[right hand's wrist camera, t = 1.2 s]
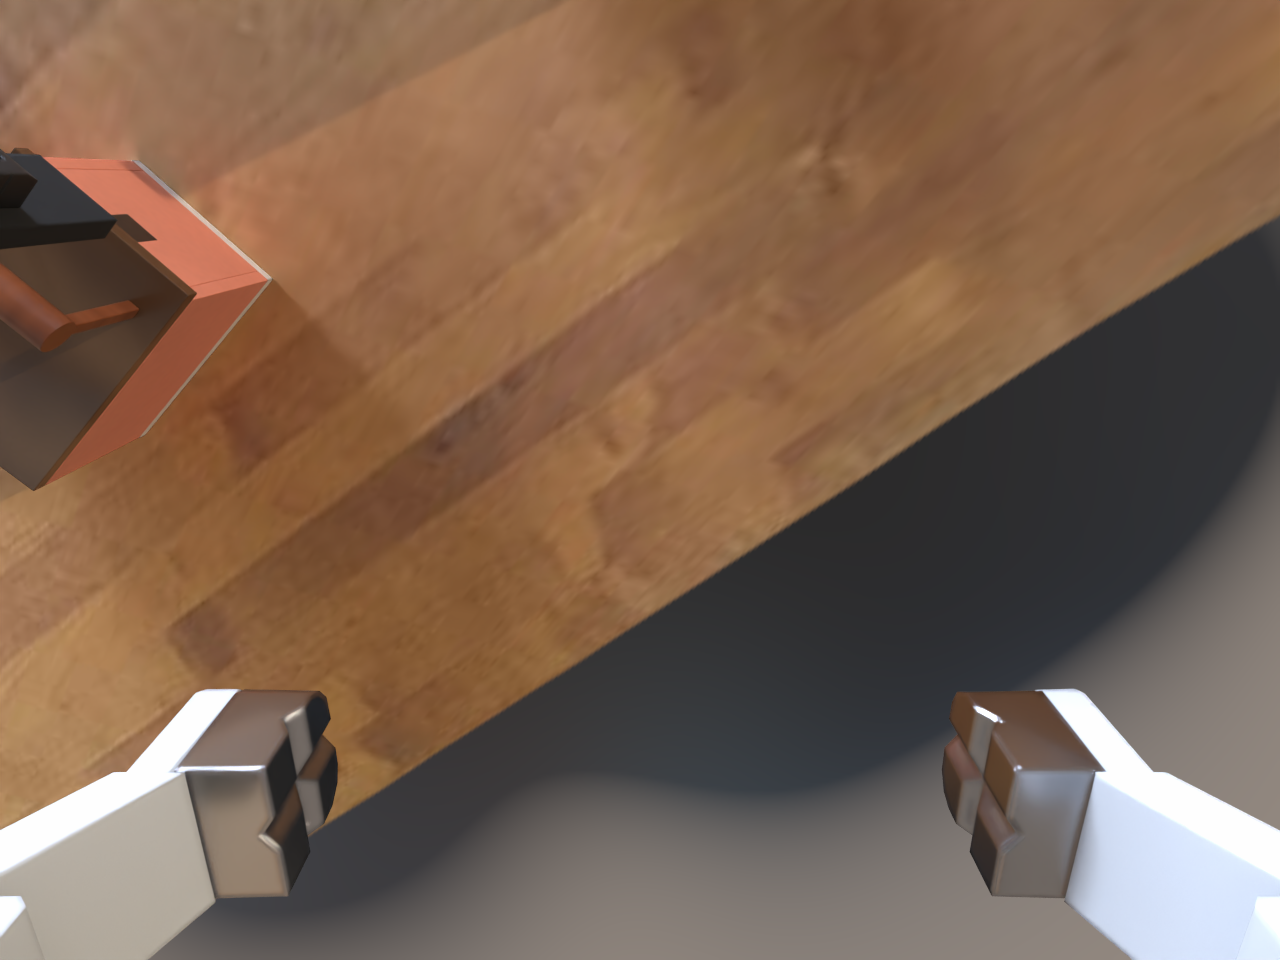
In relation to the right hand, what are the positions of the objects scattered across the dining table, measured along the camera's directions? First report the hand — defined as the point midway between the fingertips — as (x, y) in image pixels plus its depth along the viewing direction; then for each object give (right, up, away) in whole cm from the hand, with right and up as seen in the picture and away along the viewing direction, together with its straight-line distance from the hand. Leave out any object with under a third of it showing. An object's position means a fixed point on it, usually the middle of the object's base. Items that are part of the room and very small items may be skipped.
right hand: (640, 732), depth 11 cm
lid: (-32, +11, +32) cm, 47 cm away
